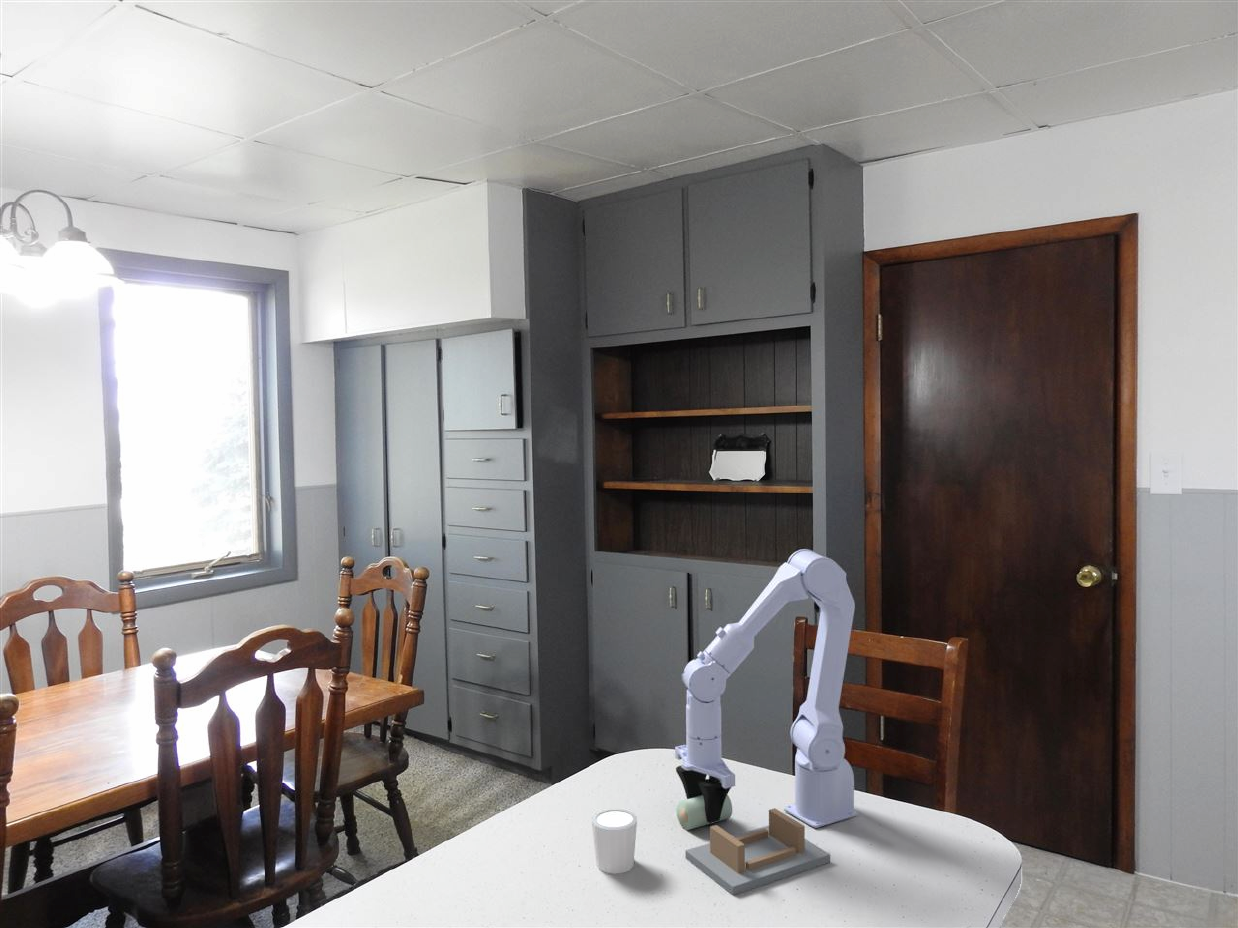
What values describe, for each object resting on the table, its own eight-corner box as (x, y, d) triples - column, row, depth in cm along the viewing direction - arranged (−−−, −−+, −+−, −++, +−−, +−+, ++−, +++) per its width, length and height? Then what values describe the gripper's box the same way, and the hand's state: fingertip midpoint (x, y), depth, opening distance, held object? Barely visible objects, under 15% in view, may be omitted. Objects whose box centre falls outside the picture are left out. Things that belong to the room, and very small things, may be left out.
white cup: (633, 877, 129) (632, 830, 129) (587, 873, 130) (586, 826, 130) (641, 854, 136) (641, 809, 135) (597, 850, 137) (597, 806, 137)
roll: (717, 811, 150) (717, 785, 150) (733, 822, 146) (733, 795, 146) (675, 823, 146) (675, 796, 146) (691, 834, 142) (690, 807, 142)
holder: (778, 829, 143) (778, 798, 143) (830, 861, 133) (830, 828, 132) (685, 857, 135) (685, 824, 134) (732, 894, 124) (732, 858, 124)
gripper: (659, 724, 149) (660, 803, 150) (709, 752, 137) (709, 838, 137) (694, 717, 153) (695, 794, 154) (745, 744, 140) (746, 827, 141)
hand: (704, 814), depth 146 cm, fingers closed on roll, 4 cm apart
